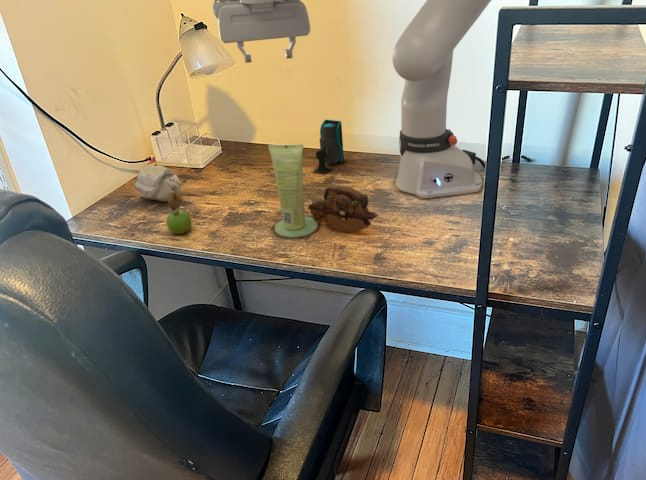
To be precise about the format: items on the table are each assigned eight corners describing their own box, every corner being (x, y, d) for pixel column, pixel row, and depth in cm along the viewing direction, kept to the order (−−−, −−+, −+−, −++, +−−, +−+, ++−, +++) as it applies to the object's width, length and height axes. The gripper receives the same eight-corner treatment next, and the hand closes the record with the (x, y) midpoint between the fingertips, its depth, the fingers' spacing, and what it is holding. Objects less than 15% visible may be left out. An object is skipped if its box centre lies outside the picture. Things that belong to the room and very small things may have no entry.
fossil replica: (177, 206, 137) (189, 192, 146) (173, 175, 133) (185, 163, 142) (130, 204, 137) (145, 191, 146) (125, 173, 133) (140, 161, 142)
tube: (299, 217, 128) (290, 138, 117) (312, 225, 124) (303, 143, 114) (279, 225, 125) (267, 145, 114) (291, 233, 121) (280, 150, 111)
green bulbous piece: (195, 223, 128) (183, 176, 122) (192, 236, 123) (180, 188, 117) (172, 226, 128) (159, 179, 121) (168, 239, 123) (154, 191, 116)
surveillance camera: (306, 130, 145) (324, 119, 153) (310, 171, 152) (328, 159, 159) (324, 132, 143) (342, 121, 150) (328, 174, 150) (344, 161, 157)
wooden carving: (306, 228, 123) (302, 188, 117) (314, 219, 126) (311, 180, 121) (374, 240, 118) (374, 199, 112) (380, 230, 122) (380, 190, 116)
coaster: (319, 216, 128) (319, 215, 128) (315, 237, 120) (315, 235, 120) (278, 218, 129) (277, 216, 129) (271, 238, 120) (271, 237, 120)
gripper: (211, -2, 111) (223, 67, 119) (308, -10, 115) (314, 58, 122) (210, -5, 116) (222, 61, 124) (303, -12, 120) (309, 53, 128)
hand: (268, 60), depth 123 cm, fingers open, 8 cm apart
